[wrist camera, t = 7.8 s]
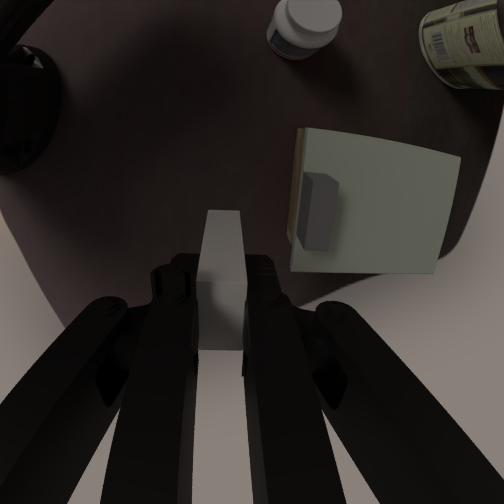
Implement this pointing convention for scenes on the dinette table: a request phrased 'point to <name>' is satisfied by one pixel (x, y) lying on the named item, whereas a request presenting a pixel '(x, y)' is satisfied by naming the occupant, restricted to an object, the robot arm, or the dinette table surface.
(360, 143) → the lid
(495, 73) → the coffee can
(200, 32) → the dinette table surface
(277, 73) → the dinette table surface
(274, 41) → the pill bottle
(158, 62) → the dinette table surface
